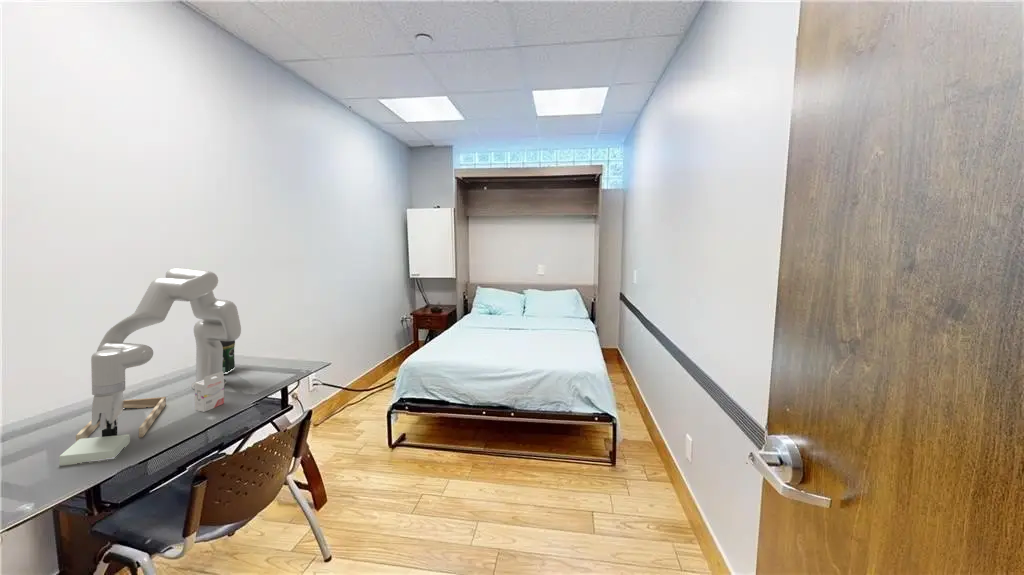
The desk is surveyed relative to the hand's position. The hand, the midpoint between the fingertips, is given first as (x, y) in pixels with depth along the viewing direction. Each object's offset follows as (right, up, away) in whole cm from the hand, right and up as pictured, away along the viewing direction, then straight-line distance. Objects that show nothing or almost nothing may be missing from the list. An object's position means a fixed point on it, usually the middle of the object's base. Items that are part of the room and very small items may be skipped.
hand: (109, 438), depth 124 cm
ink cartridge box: (+10, +1, +29) cm, 31 cm away
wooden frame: (-7, +1, +12) cm, 14 cm away
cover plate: (+2, -3, -6) cm, 7 cm away
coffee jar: (-11, +8, +63) cm, 64 cm away
